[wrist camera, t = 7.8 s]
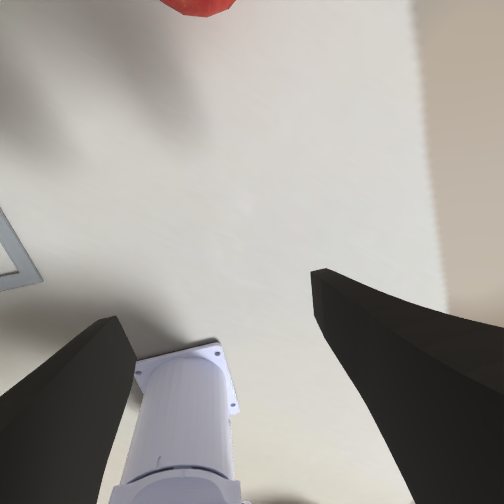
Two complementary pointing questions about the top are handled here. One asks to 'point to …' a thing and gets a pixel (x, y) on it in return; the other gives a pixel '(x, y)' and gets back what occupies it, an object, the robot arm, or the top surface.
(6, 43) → the top surface
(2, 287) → the gray square frame
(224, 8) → the onion
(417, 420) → the robot arm
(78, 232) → the top surface
